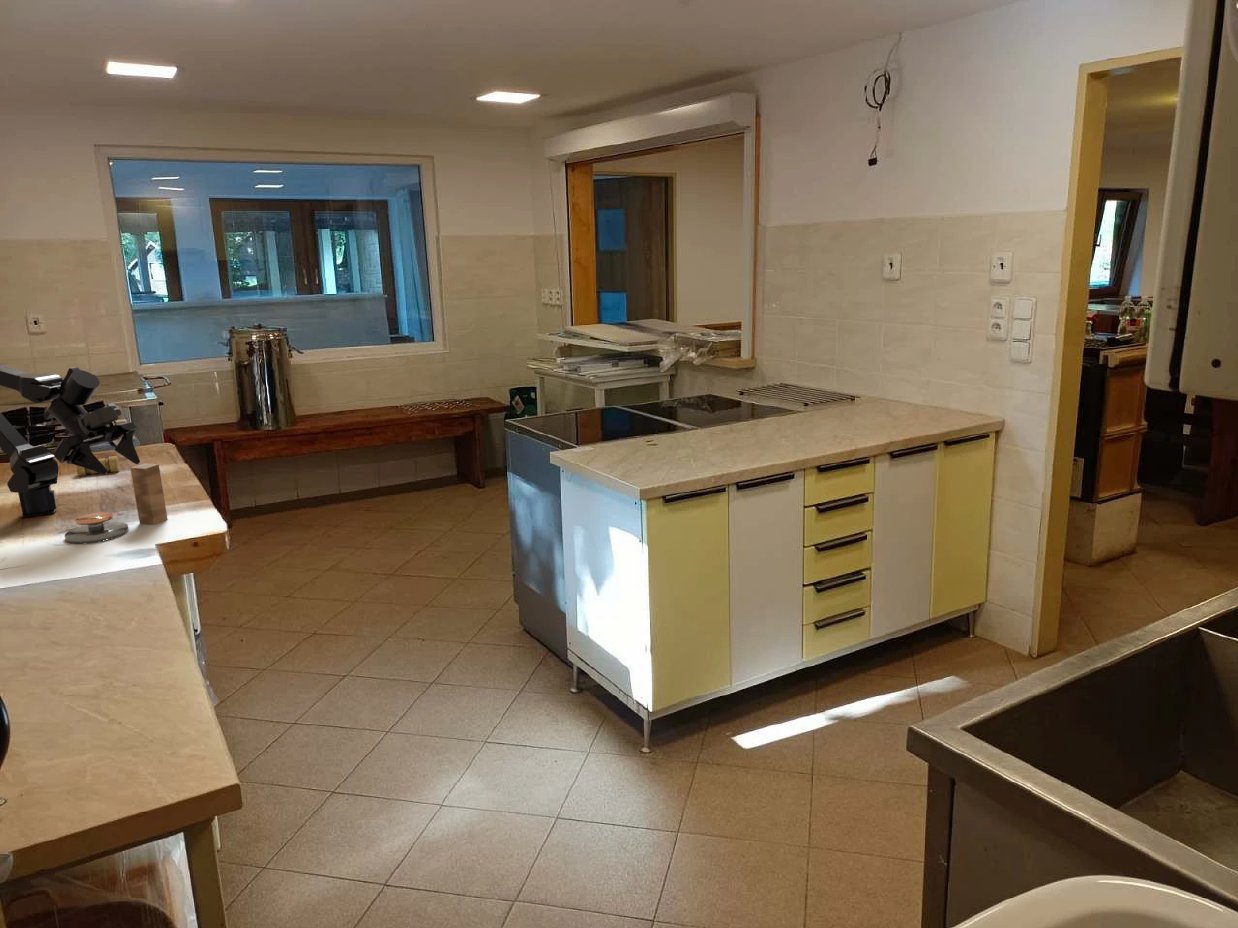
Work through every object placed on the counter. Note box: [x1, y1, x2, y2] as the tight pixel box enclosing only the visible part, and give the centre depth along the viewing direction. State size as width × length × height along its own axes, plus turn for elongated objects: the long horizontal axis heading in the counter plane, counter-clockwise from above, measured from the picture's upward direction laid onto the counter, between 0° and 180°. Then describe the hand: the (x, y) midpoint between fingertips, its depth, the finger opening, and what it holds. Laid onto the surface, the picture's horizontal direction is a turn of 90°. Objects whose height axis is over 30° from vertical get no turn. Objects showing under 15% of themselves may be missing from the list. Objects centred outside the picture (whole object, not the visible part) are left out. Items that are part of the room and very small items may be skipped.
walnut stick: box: [129, 463, 168, 526], centre depth 199 cm, size 4×4×13 cm
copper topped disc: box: [64, 511, 129, 545], centre depth 192 cm, size 12×12×4 cm
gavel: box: [75, 453, 121, 477], centre depth 254 cm, size 21×5×10 cm
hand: (122, 468), depth 200 cm, fingers open, 9 cm apart
